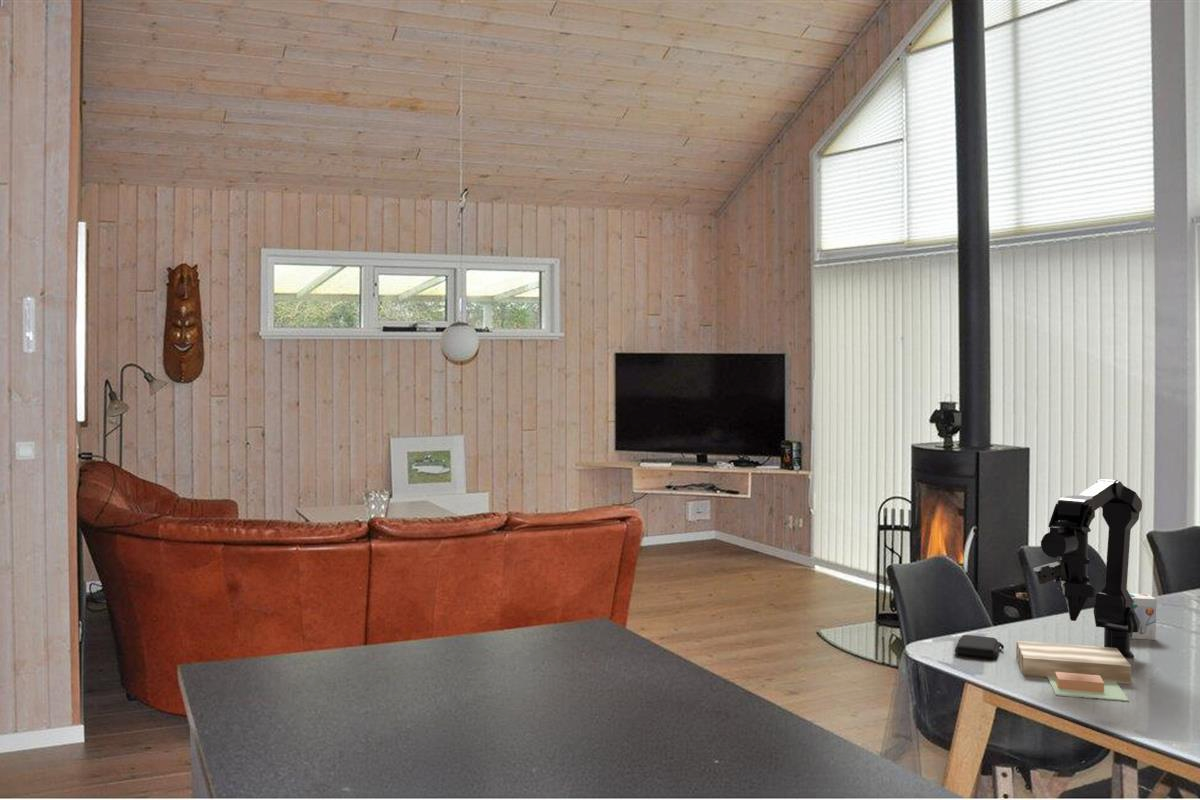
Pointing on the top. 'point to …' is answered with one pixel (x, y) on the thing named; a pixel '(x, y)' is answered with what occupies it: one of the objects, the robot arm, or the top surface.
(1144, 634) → the light bulb box
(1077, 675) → the block
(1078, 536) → the robot arm
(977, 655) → the carrying case or bag
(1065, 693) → the mat
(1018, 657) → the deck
